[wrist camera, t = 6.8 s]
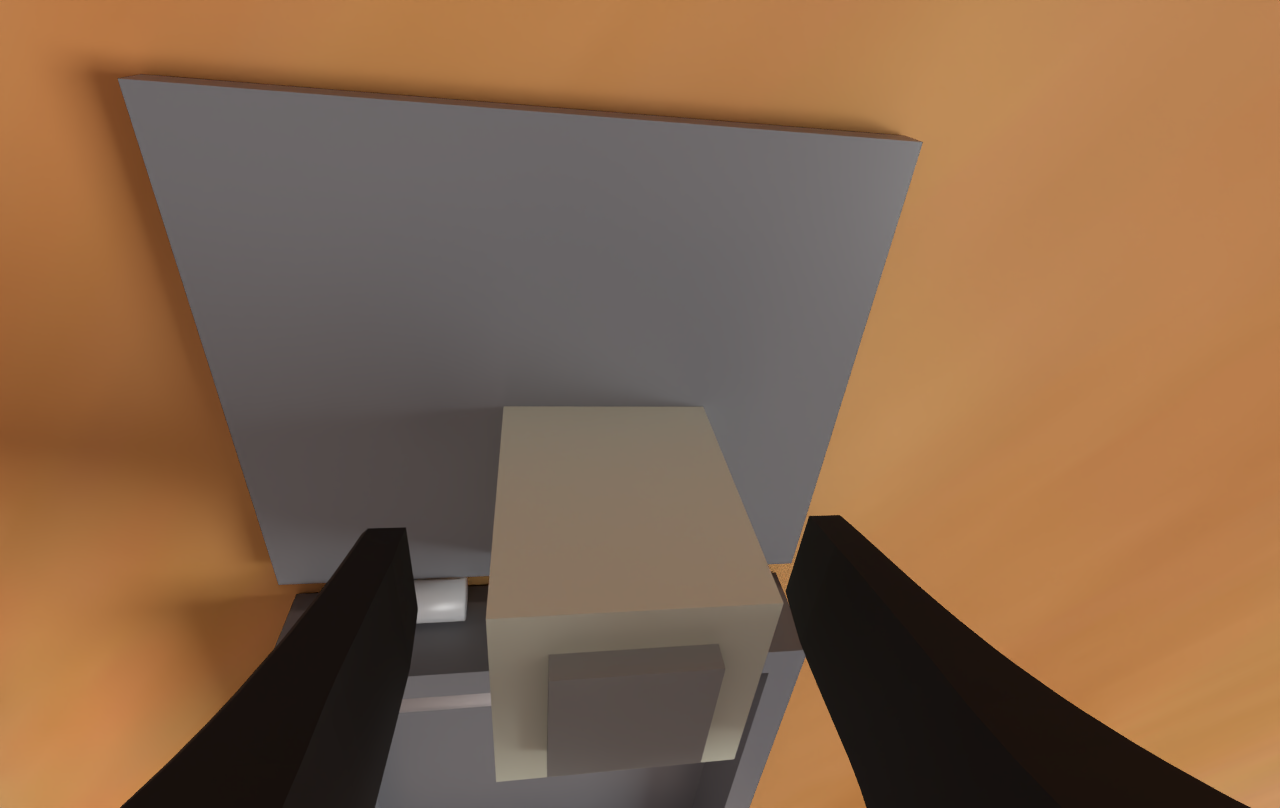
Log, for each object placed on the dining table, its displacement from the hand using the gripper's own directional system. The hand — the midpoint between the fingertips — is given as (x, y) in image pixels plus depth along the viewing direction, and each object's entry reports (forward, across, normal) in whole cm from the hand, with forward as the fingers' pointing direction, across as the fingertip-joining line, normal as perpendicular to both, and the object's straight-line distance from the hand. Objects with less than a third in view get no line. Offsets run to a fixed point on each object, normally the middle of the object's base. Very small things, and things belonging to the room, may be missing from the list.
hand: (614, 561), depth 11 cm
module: (+2, 0, 0) cm, 3 cm away
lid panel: (+3, +1, -2) cm, 4 cm away
